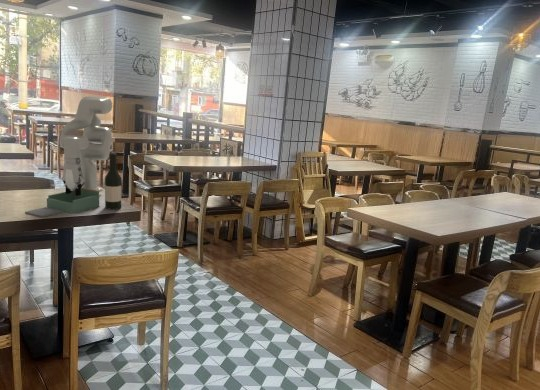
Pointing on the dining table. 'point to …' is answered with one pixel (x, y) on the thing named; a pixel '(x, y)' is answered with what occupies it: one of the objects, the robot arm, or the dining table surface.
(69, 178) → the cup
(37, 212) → the rubber mat
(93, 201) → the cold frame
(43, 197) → the dining table surface
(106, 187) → the wine bottle
